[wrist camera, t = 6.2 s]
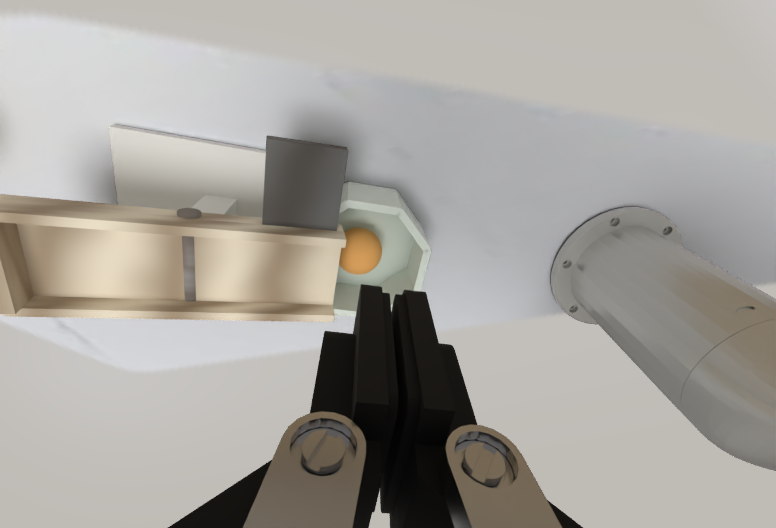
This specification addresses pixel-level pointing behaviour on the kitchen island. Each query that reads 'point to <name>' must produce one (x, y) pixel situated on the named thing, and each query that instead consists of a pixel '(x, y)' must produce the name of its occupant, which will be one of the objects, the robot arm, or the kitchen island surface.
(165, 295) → the lever
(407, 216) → the pale green bowl
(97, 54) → the kitchen island surface
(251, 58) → the kitchen island surface
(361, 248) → the ball
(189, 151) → the lever stand
